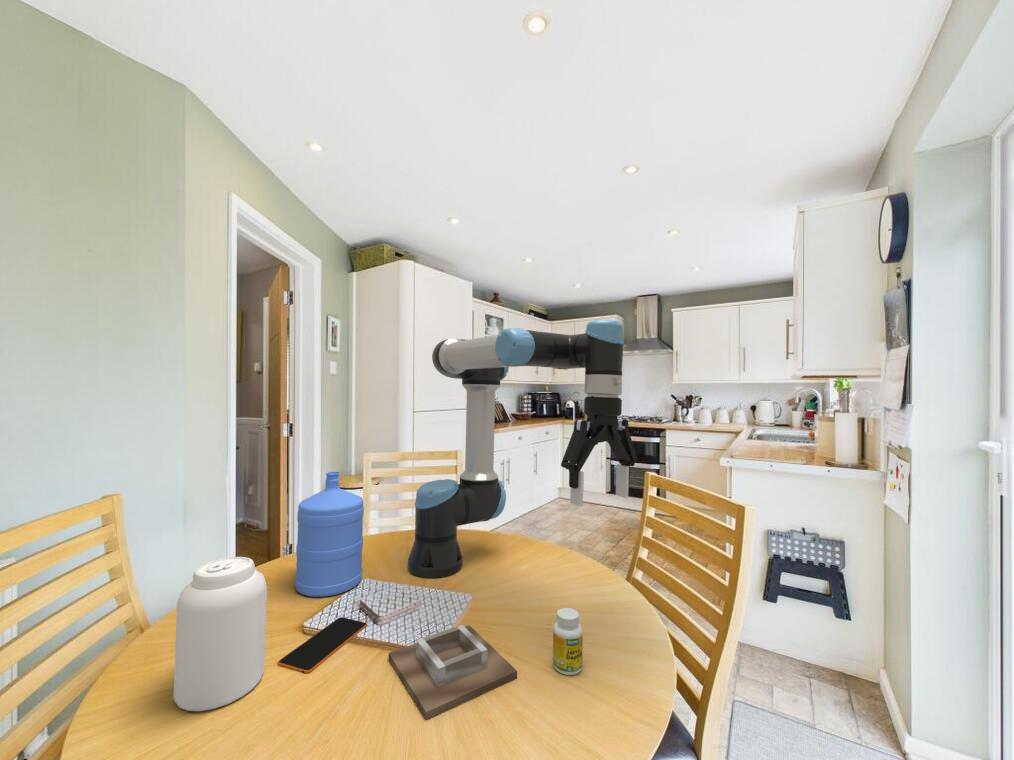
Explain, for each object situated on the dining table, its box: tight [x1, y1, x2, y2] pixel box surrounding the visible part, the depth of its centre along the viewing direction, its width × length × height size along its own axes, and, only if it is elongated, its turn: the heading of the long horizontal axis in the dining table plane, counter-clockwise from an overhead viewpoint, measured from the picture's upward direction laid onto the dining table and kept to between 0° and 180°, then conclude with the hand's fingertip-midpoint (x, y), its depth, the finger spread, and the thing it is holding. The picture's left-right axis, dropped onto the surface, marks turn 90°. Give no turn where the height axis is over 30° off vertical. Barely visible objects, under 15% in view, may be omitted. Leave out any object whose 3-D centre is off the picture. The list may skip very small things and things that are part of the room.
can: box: [173, 556, 268, 712], centre depth 70 cm, size 12×12×20 cm
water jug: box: [294, 471, 365, 598], centre depth 107 cm, size 16×16×28 cm
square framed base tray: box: [387, 624, 518, 721], centre depth 75 cm, size 17×17×4 cm
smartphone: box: [276, 616, 369, 675], centre depth 82 cm, size 8×17×1 cm, turn 161°
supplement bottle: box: [552, 607, 584, 676], centre depth 76 cm, size 5×5×10 cm
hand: (600, 500), depth 86 cm, fingers open, 13 cm apart
